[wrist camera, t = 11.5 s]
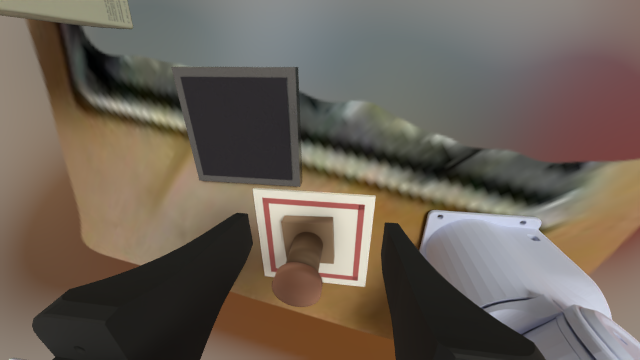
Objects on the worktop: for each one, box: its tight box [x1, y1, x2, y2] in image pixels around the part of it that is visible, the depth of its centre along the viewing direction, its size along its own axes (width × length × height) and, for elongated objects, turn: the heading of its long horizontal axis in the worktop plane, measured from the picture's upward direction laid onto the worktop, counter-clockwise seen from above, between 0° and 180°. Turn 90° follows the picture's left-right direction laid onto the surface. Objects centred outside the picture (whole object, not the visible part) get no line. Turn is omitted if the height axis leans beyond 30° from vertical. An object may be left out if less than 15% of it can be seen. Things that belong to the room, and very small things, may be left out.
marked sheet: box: [253, 188, 375, 287], centre depth 26 cm, size 12×12×1 cm
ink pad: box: [172, 67, 302, 187], centre depth 21 cm, size 10×10×1 cm
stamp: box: [272, 215, 335, 307], centre depth 22 cm, size 5×5×7 cm
